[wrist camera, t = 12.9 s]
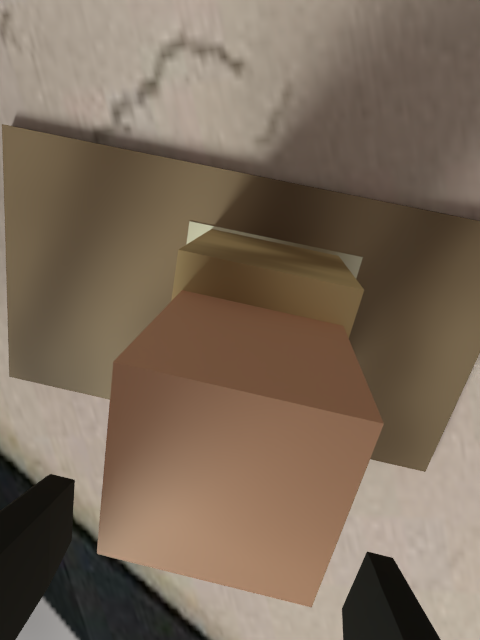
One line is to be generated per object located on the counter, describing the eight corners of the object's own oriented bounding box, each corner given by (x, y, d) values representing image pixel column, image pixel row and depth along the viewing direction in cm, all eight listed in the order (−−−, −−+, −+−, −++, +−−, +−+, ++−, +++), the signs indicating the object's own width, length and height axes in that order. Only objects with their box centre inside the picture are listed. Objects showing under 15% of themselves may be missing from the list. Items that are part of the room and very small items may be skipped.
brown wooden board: (526, 230, 14) (535, 232, 14) (421, 464, 18) (425, 472, 17) (10, 126, 15) (1, 124, 14) (16, 371, 19) (8, 376, 18)
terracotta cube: (343, 325, 10) (384, 424, 6) (301, 457, 12) (312, 607, 8) (182, 289, 10) (113, 361, 6) (162, 424, 12) (97, 553, 8)
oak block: (338, 255, 15) (364, 290, 10) (294, 408, 17) (298, 493, 12) (211, 228, 15) (178, 249, 10) (186, 383, 17) (149, 458, 13)
